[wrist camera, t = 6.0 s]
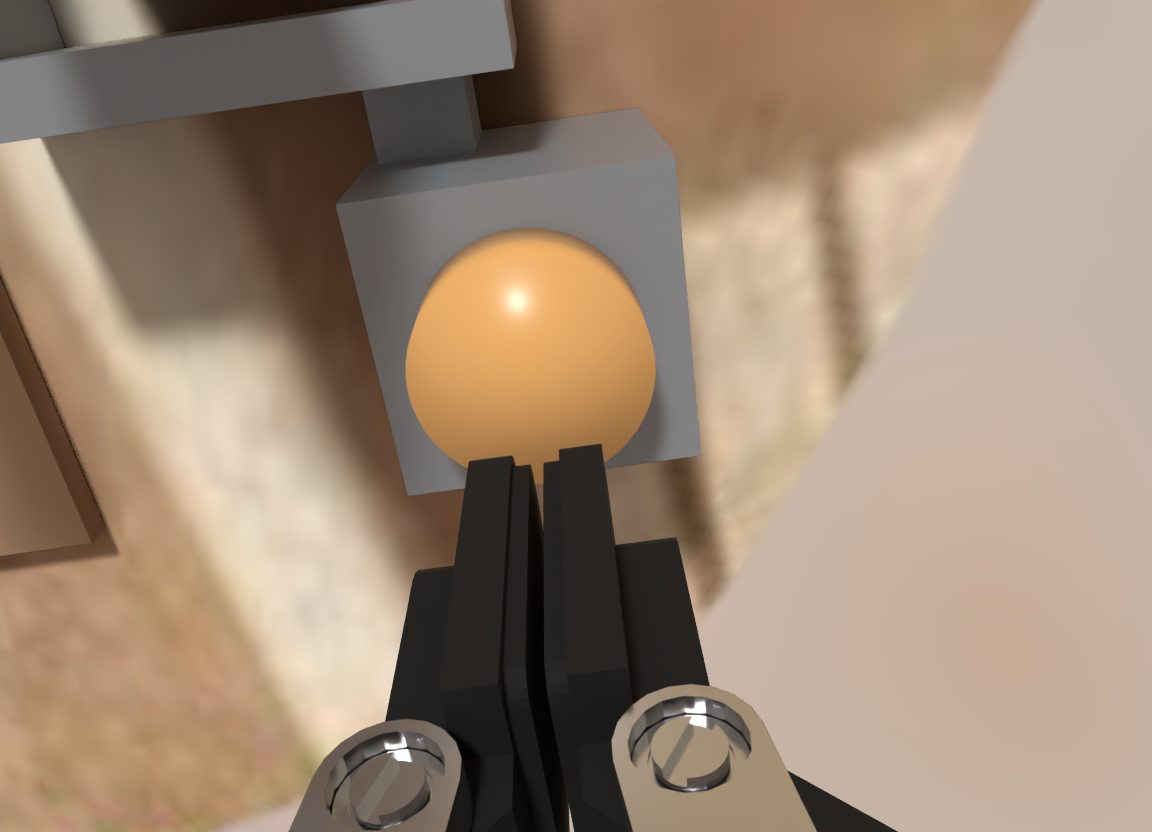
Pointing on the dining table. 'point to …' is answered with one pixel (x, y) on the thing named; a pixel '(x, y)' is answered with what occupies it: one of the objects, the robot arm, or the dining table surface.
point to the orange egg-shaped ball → (529, 351)
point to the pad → (36, 457)
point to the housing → (401, 167)
